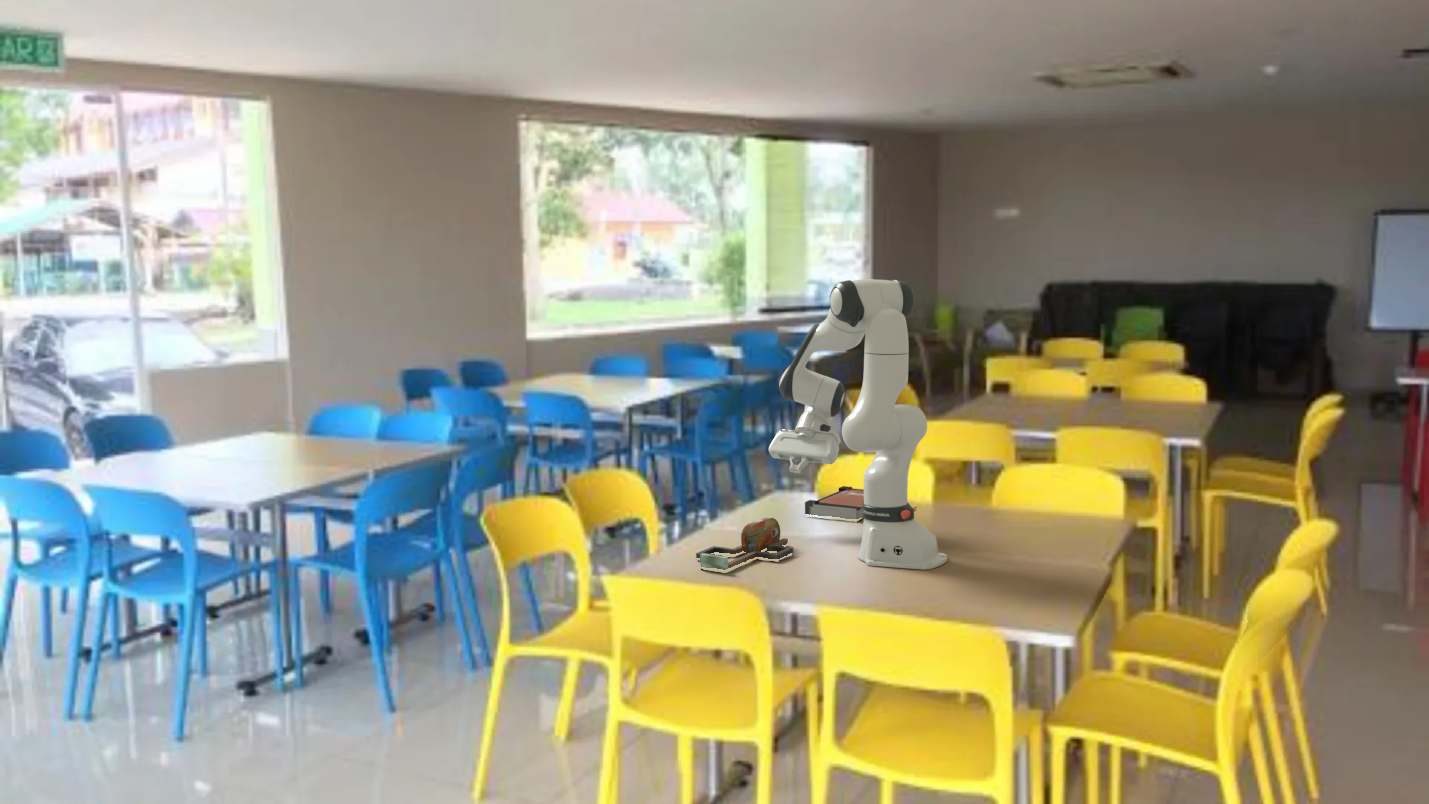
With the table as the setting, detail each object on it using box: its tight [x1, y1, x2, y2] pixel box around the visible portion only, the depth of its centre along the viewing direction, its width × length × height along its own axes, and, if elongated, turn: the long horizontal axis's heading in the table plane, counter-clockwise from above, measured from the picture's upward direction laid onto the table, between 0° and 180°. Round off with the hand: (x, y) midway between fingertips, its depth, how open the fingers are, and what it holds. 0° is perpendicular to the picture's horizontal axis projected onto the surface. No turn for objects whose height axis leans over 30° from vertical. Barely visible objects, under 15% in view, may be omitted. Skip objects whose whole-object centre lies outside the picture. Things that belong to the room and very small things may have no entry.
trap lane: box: [695, 537, 794, 570], centre depth 308 cm, size 19×31×4 cm, turn 147°
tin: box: [740, 517, 781, 554], centre depth 314 cm, size 15×3×8 cm, turn 143°
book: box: [804, 485, 864, 519], centre depth 359 cm, size 26×18×5 cm
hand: (794, 471), depth 330 cm, fingers closed
